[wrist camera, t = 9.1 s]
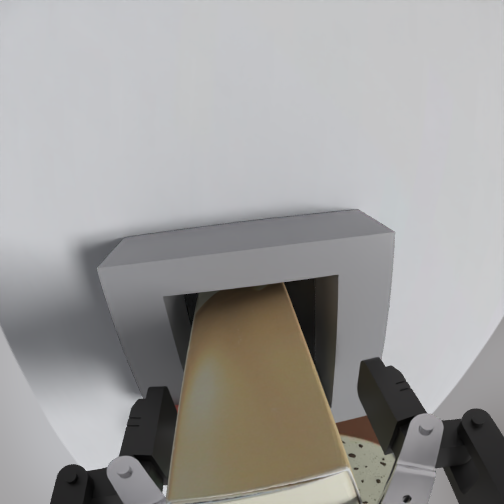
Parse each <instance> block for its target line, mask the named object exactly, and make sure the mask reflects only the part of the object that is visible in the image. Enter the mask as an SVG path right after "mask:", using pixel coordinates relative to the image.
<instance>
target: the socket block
mask: <svg viewBox="0 0 504 504" xmlns="http://www.w3.org/2000/svg"><path fill="white" fill-rule="evenodd" d="M394 242H395V232H394V231H393V230H391V229H389V228H388V227H386V226H385V225H383V224H381V223H380V222H378V221H377V220H375V219H373V218H372V217H370V216H368V215H367V214H365V213H364V212H362V211H360V210H359V209H357V210H346V211H336V212H326V213H316V214H307V215H297V216H288V217H279V218H270V219H261V220H253V221H244V222H236V223H228V224H220V225H212V226H204V227H196V228H189V229H181V230H174V231H167V232H159V233H152V234H145V235H138V236H131V237H125V238H124V239H123V240H122V241H121V242H120V243H119V244H118V245H117V246H116V247H115V248H114V249H113V250H112V252H111V253H110V254H109V255H108V256H107V257H106V258H105V259H104V260H103V262H102V263H101V264H100V265H99V266H98V267H97V268H96V269H97V272H98V276H99V279H100V282H101V286H102V289H103V292H104V296H105V299H106V302H107V305H108V308H109V311H110V314H111V317H112V320H113V323H114V326H115V329H116V332H117V334H118V337H119V340H120V342H121V345H122V348H123V350H124V353H125V356H126V358H127V361H128V363H129V366H130V368H131V371H132V373H133V376H134V378H135V380H136V383H137V385H138V387H139V390H140V392H141V394H142V396H143V399H145V398H146V394H147V390H148V388H149V387H157V386H167V387H168V389H169V392H170V394H171V397H172V400H173V402H174V405H175V407H176V410H177V414H178V407H179V400H180V394H181V387H182V381H183V375H184V369H185V363H186V357H187V351H188V346H189V341H190V335H191V325H190V320H189V316H188V312H187V307H186V303H185V298H184V294H190V293H199V292H208V291H217V290H225V289H234V288H242V287H250V286H258V285H266V284H273V283H281V282H288V281H296V280H303V279H310V278H315V363H314V365H315V368H316V371H317V374H318V376H319V379H320V382H321V385H322V387H323V390H324V393H325V396H326V398H327V401H328V404H329V407H330V409H331V412H332V415H333V418H334V421H335V423H337V422H342V421H346V420H350V419H354V418H358V417H362V416H366V413H365V410H364V408H363V406H362V404H361V402H360V400H359V397H358V392H357V383H358V376H359V368H360V362H361V361H362V360H366V359H370V358H375V357H379V358H380V359H382V353H383V347H384V341H385V334H386V327H387V319H388V311H389V303H390V293H391V283H392V272H393V258H394Z"/></svg>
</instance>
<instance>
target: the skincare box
mask: <svg viewBox="0 0 504 504" xmlns="http://www.w3.org/2000/svg"><path fill="white" fill-rule="evenodd" d="M166 504H363V502H362V499H361V495H360V492H359V489H358V486H357V483H356V481H355V478H354V475H353V472H352V469H351V466H350V463H349V460H348V457H347V454H346V451H345V449H344V446H343V443H342V440H341V437H340V435H339V432H338V429H337V426H336V423H335V421H334V418H333V415H332V412H331V409H330V407H329V404H328V401H327V398H326V396H325V393H324V390H323V387H322V385H321V382H320V379H319V376H318V374H317V371H316V368H315V365H314V363H313V360H312V357H311V355H310V352H309V349H308V346H307V344H306V341H305V338H304V335H303V333H302V330H301V327H300V324H299V322H298V319H297V316H296V313H295V311H294V308H293V305H292V303H291V300H290V297H289V295H288V292H287V289H286V287H285V284H284V282H281V283H273V284H266V285H258V286H250V287H242V288H234V289H225V290H217V291H208V292H199V293H198V297H197V302H196V308H195V313H194V318H193V324H192V329H191V335H190V341H189V346H188V351H187V357H186V363H185V369H184V375H183V381H182V387H181V394H180V400H179V407H178V414H177V421H176V427H175V434H174V441H173V448H172V455H171V463H170V470H169V478H168V486H167V494H166Z"/></svg>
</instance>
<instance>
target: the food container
mask: <svg viewBox="0 0 504 504" xmlns="http://www.w3.org/2000/svg"><path fill="white" fill-rule="evenodd" d="M336 426H337V429H338V432H339V435H340V437H341V440H342V443H343V446H344V449H345V451H346V454H347V457H348V460H349V463H350V466H351V469H352V472H353V475H354V478H355V481H356V483H357V486H358V489H359V492H360V495H361V499H362V502H363V504H377V502H378V500H379V498H380V496H381V493H382V491H383V489H384V486H385V484H386V481H387V479H388V476H389V474H390V471H391V469H392V466H393V463H394V461H395V455H394V453H391V454H388V455H384V452H383V450H382V448H381V446H380V443H379V441H378V439H377V437H376V435H375V432H374V430H373V428H372V426H371V424H370V421H369V419H368V417H367V415H366V416H362V417H358V418H354V419H350V420H346V421H342V422H337V423H336Z"/></svg>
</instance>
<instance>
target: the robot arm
mask: <svg viewBox="0 0 504 504" xmlns="http://www.w3.org/2000/svg"><path fill="white" fill-rule="evenodd" d="M357 392H358V397H359V400H360V402H361V404H362V406H363V408H364V410H365V413H366V415H367V417H368V419H369V421H370V424H371V426H372V428H373V430H374V432H375V435H376V437H377V439H378V441H379V443H380V446H381V448H382V450H383V452H384V455H388V454H391V453H394V455H395V461H394V463H393V466H392V469H391V471H390V474H389V476H388V479H387V481H386V484H385V486H384V489H383V491H382V493H381V496H380V498H379V500H378V502H377V504H428V501H429V498H430V494H431V491H432V487H433V484H434V481H435V477H436V471H434V469H435V468H441V467H443V468H444V471H445V473H446V475H447V477H448V480H449V482H450V484H451V486H452V489H453V491H454V493H455V496H456V498H457V500H458V502H459V504H504V437H503V435H502V434H501V432H500V430H499V429H498V427H497V426H496V424H495V423H494V421H493V419H492V418H491V417H490V415H489V414H488V413H487V412H486V411H484V410H482V409H471V410H469V411H467V412H466V413H465V414H464V415H463V417H462V419H455V420H445V421H443V420H440V418H438V417H437V416H435V415H433V414H428V413H427V412H426V411H425V409H424V408H423V406H422V404H421V403H420V401H419V400H418V398H417V397H416V395H415V393H414V392H413V390H412V389H411V388H410V386H409V384H408V383H407V382H406V379H405V378H404V376H403V375H402V373H401V372H400V371H399V370H397V369H396V368H394V367H393V366H387V367H385V365H384V364H383V362H382V360H381V359H380V358H379V357H375V358H370V359H366V360H362V361H361V362H360V368H359V376H358V383H357ZM176 421H177V410H176V407H175V405H174V402H173V400H172V397H171V394H170V392H169V389H168V387H167V386H157V387H149V388H148V390H147V394H146V398H145V399H138V400H137V401H136V403H135V404H134V405H133V407H132V408H131V412H130V415H129V419H128V423H127V427H126V431H125V435H124V438H123V442H122V446H121V451H120V454H119V457H117V458H115V459H113V460H112V461H111V462H110V463H109V465H108V467H106V468H102V469H97V470H91V471H86V470H85V469H84V468H83V467H81V466H79V465H75V464H73V465H67V466H65V467H64V468H62V469H61V470H60V471H59V473H58V475H57V479H56V482H55V486H54V490H53V494H52V498H51V502H50V504H166V497H165V496H164V495H163V493H162V491H163V485H168V478H169V470H170V463H171V455H172V448H173V441H174V434H175V427H176Z"/></svg>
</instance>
